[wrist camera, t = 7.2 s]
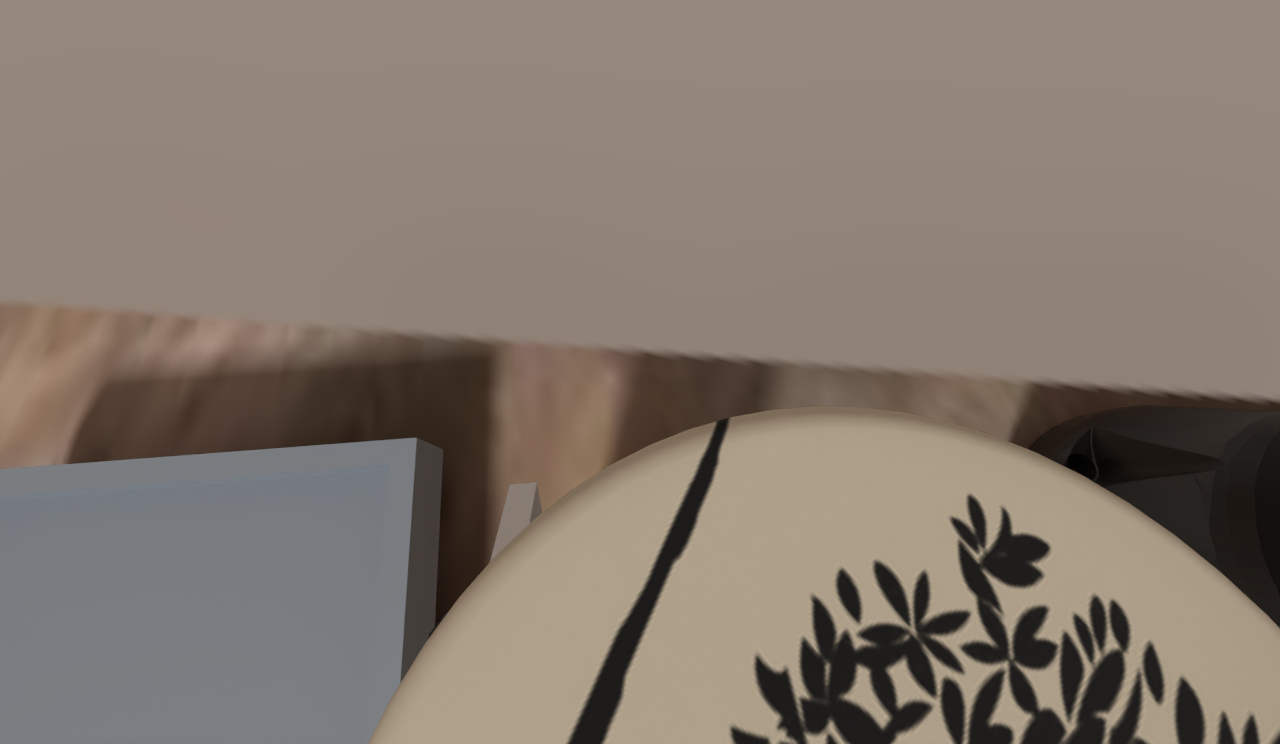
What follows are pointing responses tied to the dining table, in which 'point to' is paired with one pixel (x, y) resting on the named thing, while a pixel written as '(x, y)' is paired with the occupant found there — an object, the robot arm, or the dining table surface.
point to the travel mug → (843, 604)
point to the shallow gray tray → (216, 594)
